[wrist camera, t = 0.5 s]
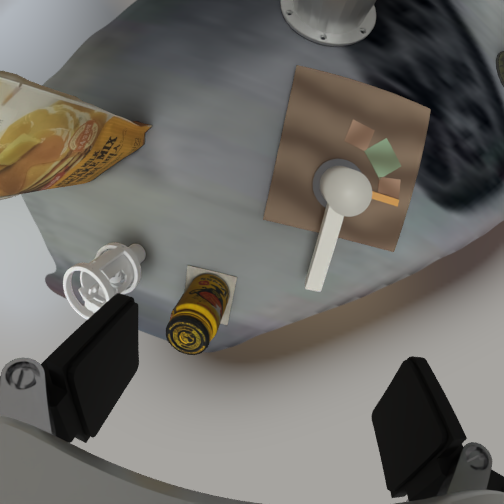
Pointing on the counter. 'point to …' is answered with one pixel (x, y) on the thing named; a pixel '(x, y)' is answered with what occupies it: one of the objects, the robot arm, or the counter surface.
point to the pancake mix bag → (57, 138)
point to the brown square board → (347, 153)
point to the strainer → (105, 276)
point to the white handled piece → (337, 210)
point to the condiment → (200, 310)
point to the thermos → (500, 66)
